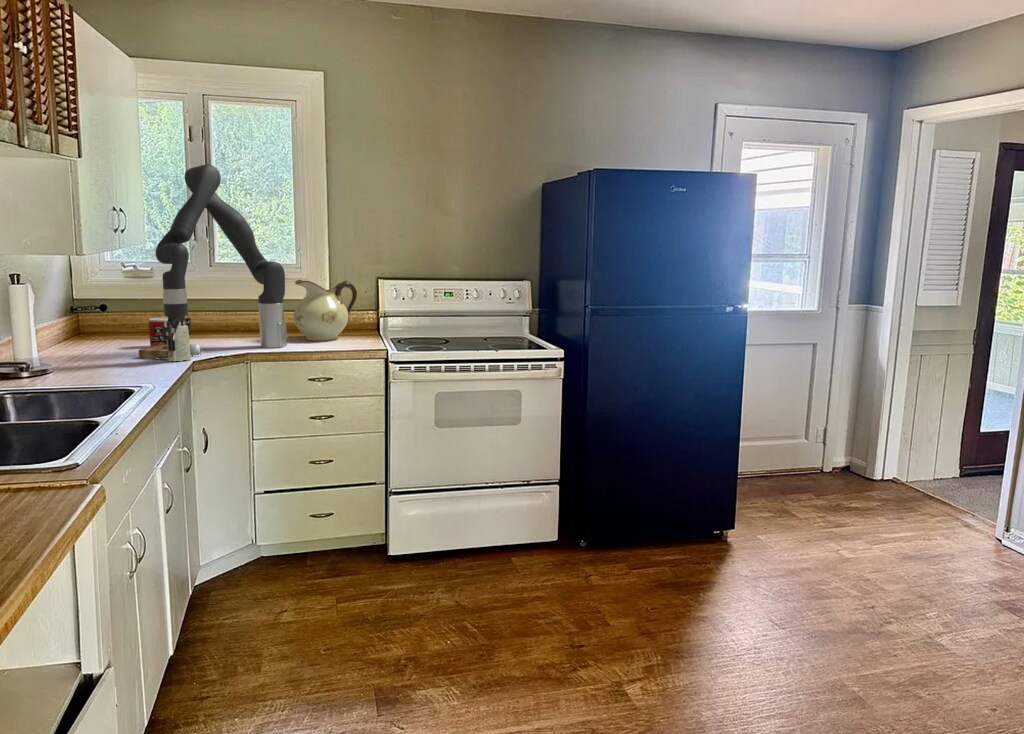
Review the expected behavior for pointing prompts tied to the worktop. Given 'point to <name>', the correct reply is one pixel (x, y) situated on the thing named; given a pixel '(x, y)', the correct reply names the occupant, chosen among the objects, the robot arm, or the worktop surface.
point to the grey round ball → (194, 349)
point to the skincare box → (180, 345)
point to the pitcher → (323, 311)
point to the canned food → (156, 331)
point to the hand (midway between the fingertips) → (178, 349)
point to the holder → (154, 352)
